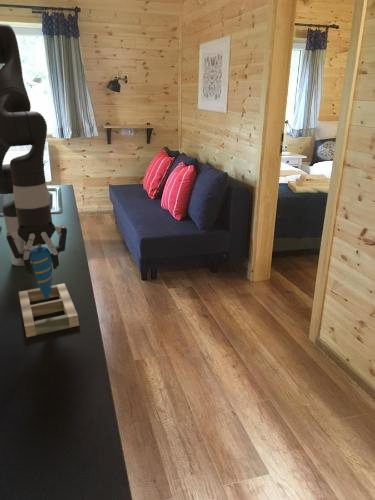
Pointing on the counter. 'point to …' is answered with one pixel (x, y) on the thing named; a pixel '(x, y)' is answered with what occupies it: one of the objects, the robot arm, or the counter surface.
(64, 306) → the wooden frame
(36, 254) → the ornament
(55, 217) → the counter surface
